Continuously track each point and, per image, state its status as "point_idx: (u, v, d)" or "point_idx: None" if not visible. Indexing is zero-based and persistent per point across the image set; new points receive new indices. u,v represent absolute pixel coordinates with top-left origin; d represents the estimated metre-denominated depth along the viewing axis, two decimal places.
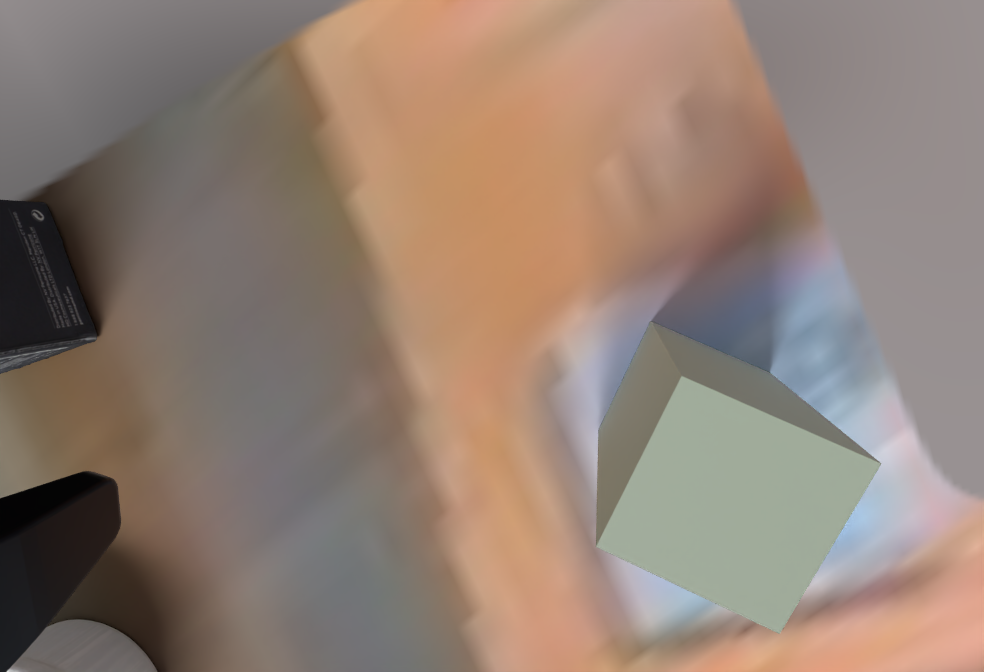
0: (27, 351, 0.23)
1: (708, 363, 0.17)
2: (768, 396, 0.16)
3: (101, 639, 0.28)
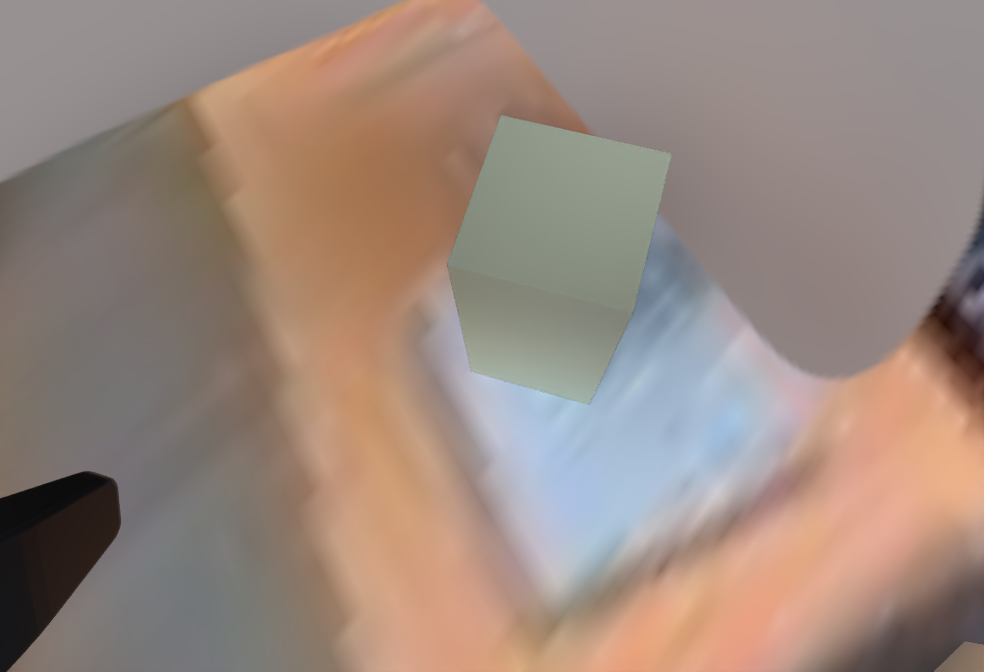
0: None
1: None
2: None
3: None
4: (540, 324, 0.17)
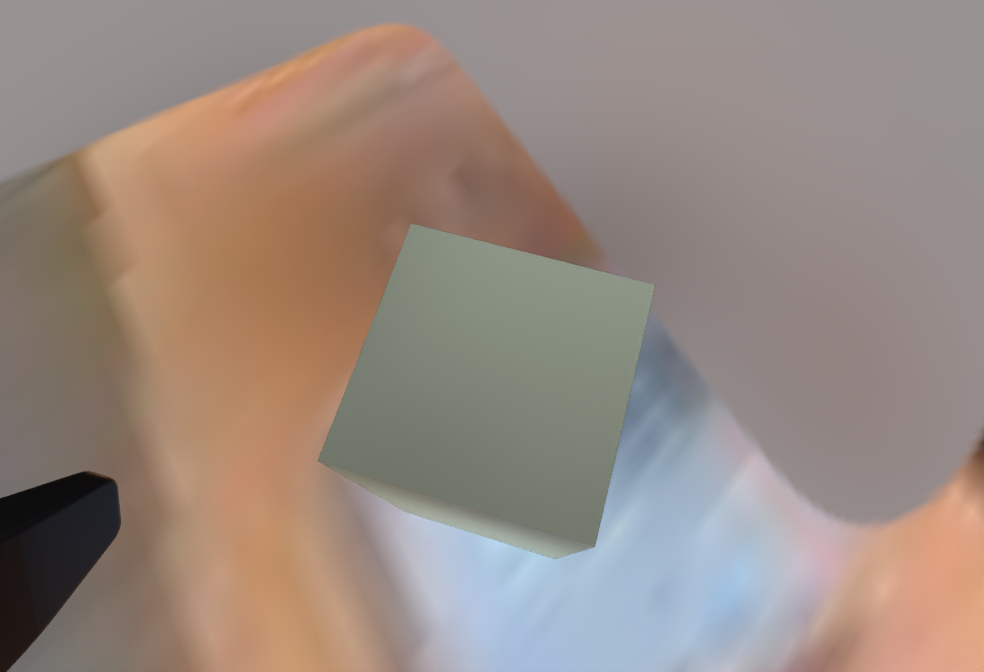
0: None
1: None
2: None
3: None
4: (469, 517, 0.12)
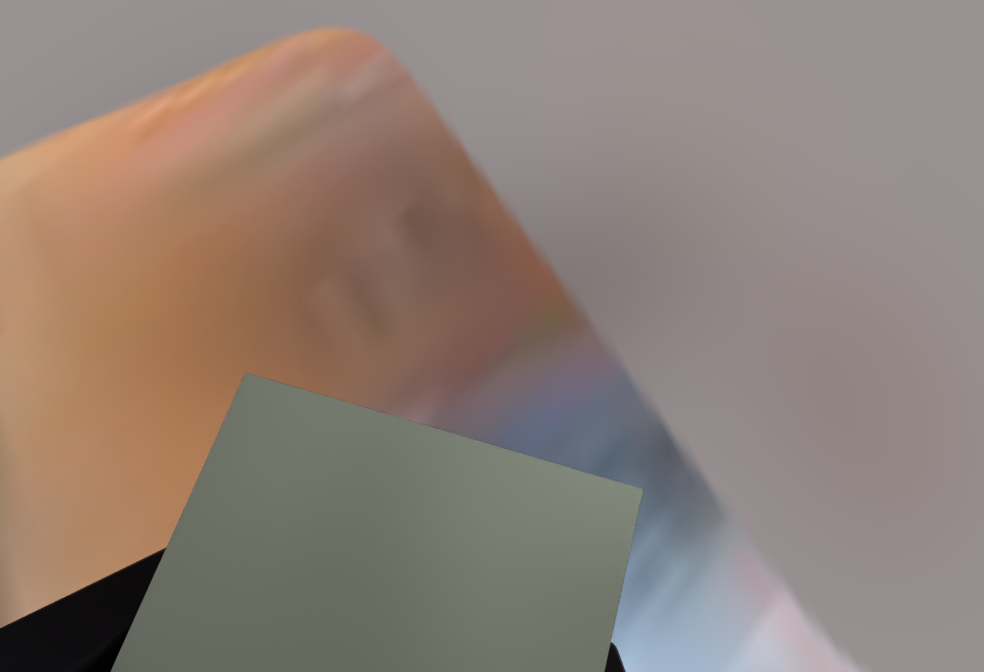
0: None
1: None
2: None
3: None
4: None
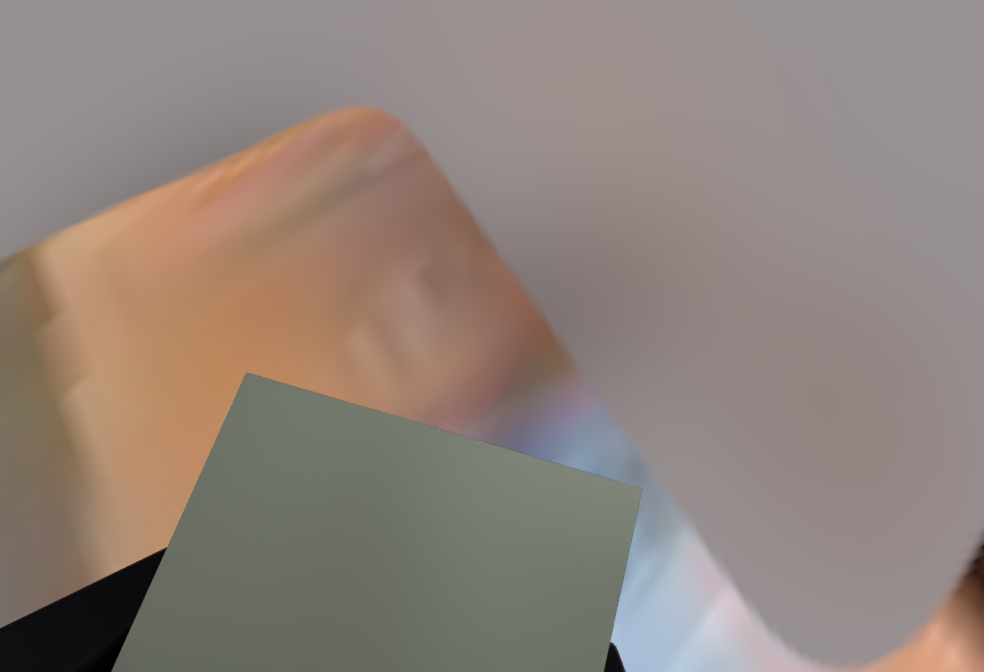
0: None
1: None
2: None
3: None
4: None
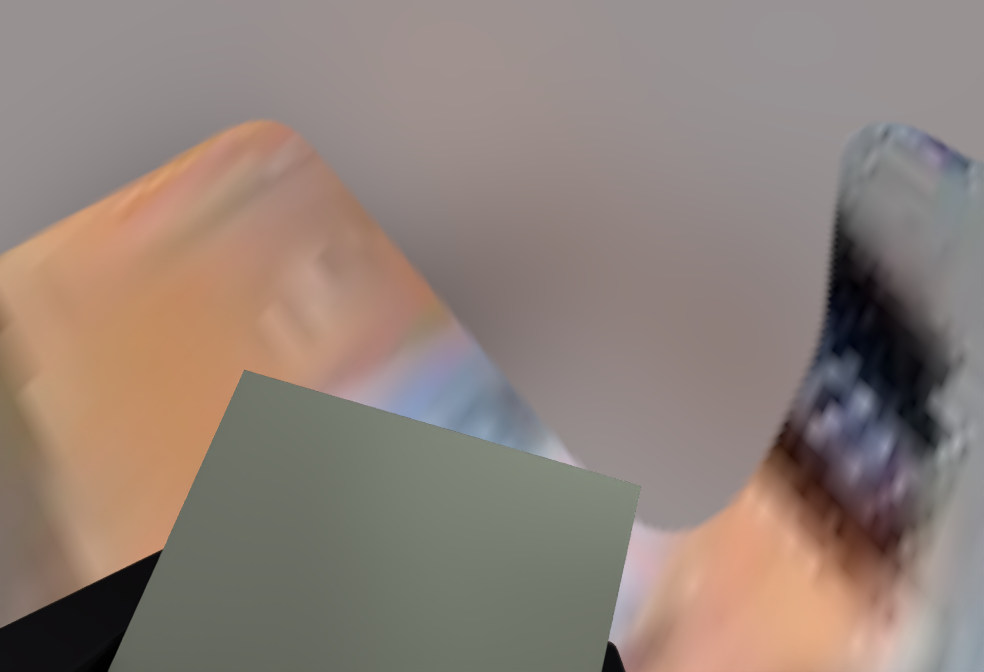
0: None
1: None
2: None
3: None
4: None
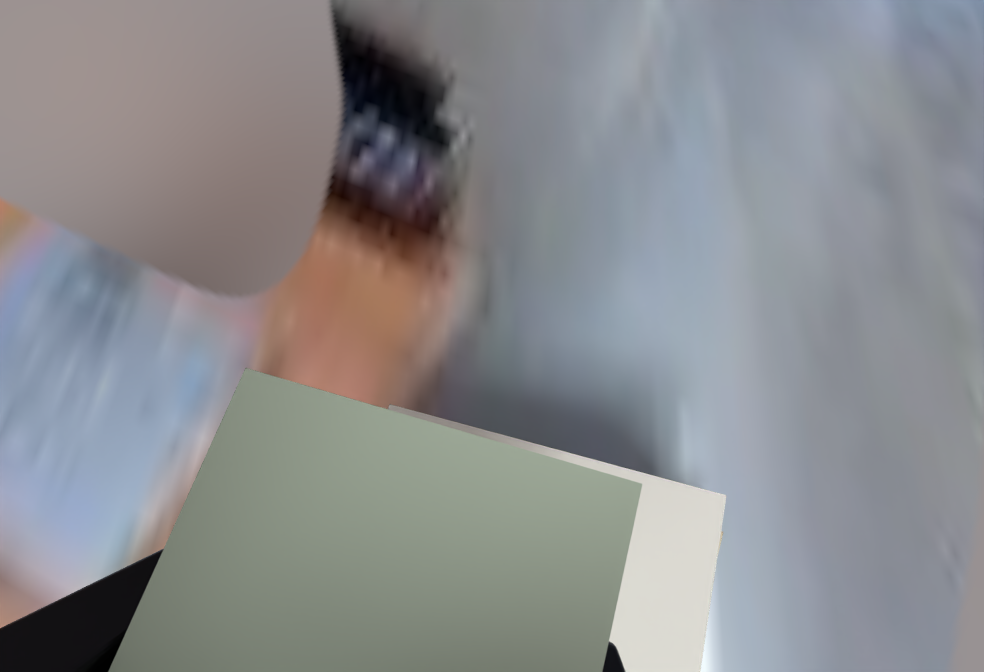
0: None
1: None
2: None
3: None
4: None
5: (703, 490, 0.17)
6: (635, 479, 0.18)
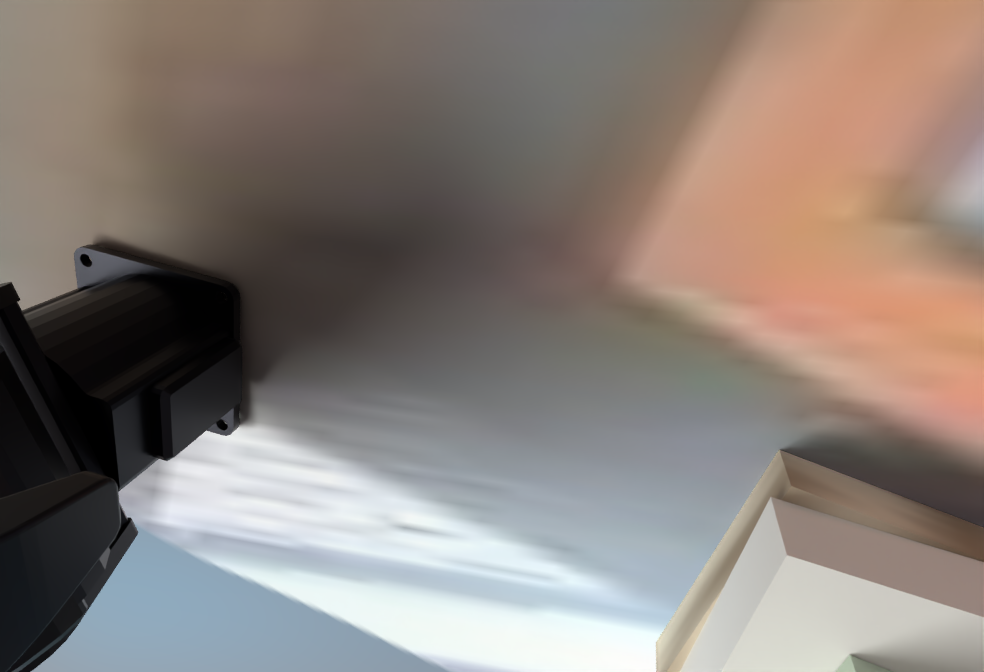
0: None
1: None
2: None
3: None
4: None
5: None
6: None
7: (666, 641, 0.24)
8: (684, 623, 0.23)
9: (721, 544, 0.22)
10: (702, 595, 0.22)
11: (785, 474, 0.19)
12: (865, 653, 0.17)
